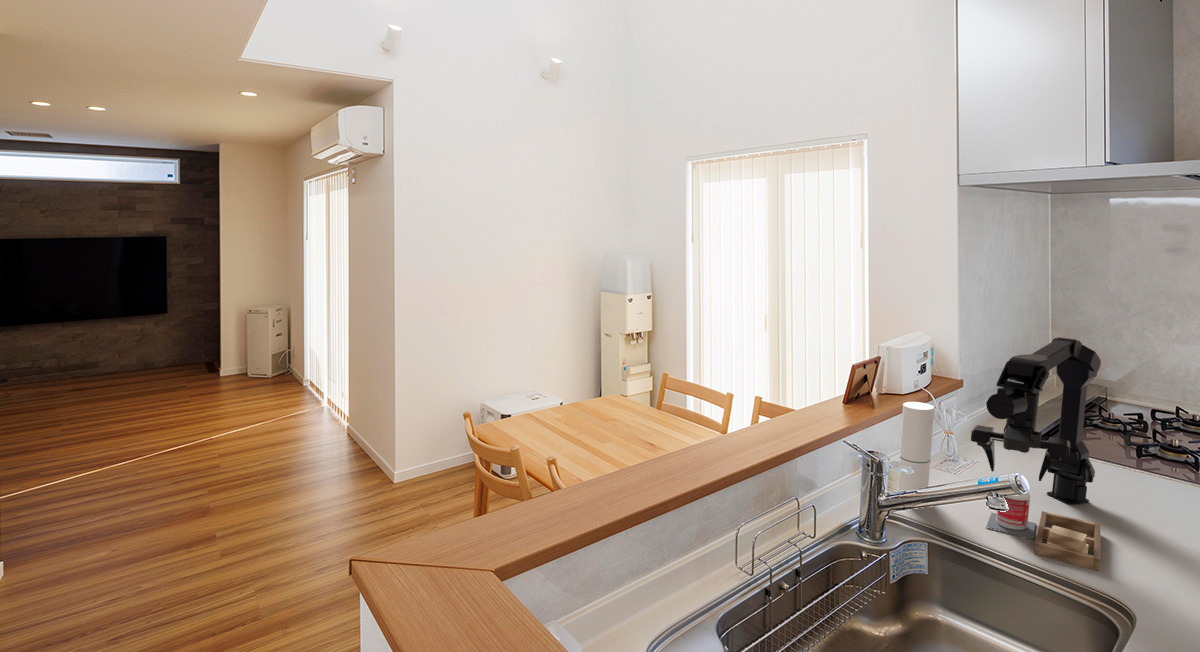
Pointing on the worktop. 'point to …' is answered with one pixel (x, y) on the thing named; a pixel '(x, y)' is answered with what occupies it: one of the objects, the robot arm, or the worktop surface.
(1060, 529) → the upper offcut
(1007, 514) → the pill bottle
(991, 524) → the mat
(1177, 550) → the worktop surface
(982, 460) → the worktop surface
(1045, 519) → the rack
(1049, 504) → the worktop surface
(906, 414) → the cylindrical container
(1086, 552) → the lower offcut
